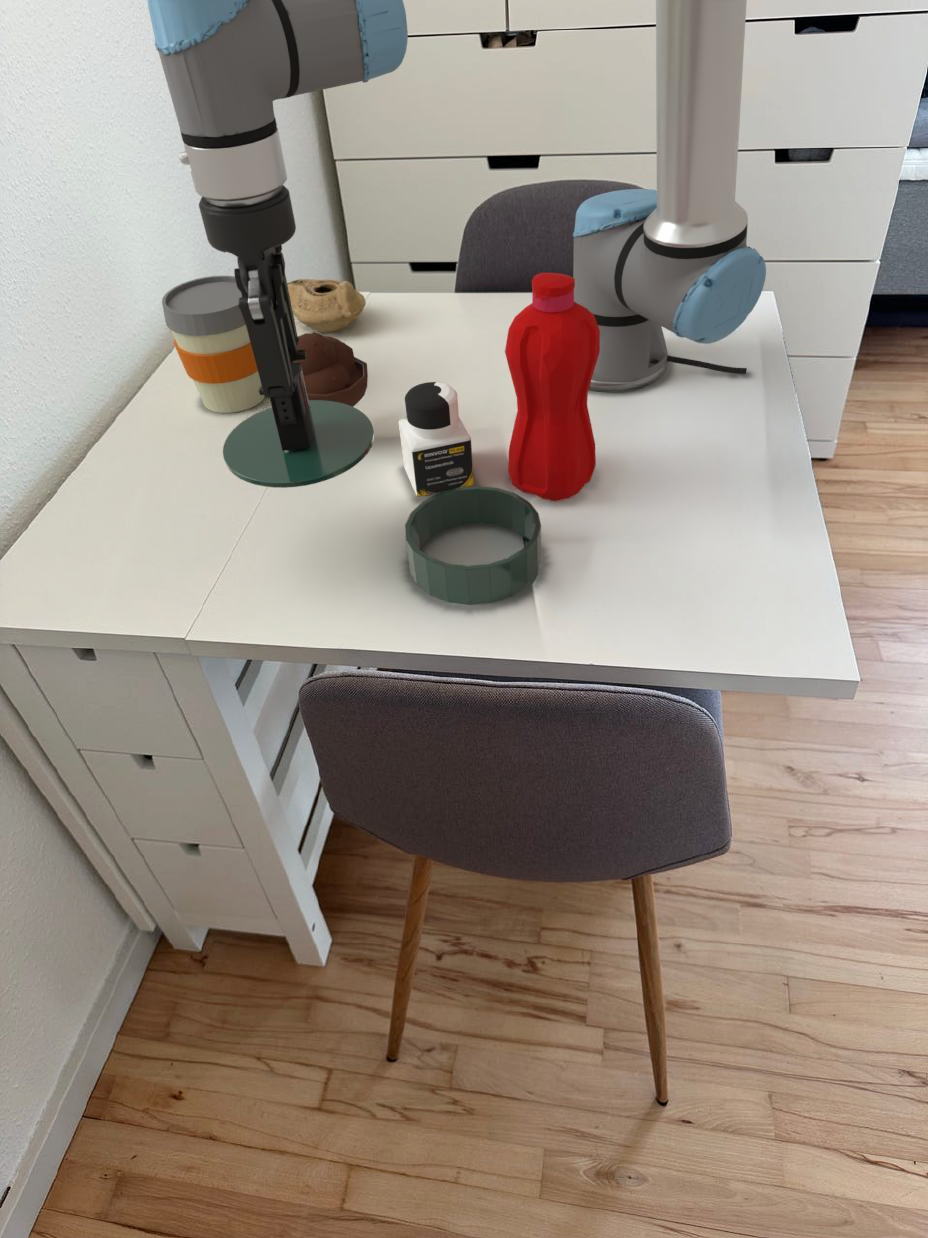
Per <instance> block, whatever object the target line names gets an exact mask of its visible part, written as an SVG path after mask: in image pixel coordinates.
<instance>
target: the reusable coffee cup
mask: <svg viewBox="0 0 928 1238" xmlns="http://www.w3.org/2000/svg"><path fill="white" fill-rule="evenodd" d="M241 297H242V294H241V291H240V290H239V289H238V288H237V284H236V280H235V275H212V276H210V275H209V276H204V277H199V278H195V279H191V280H188V281H185V282H182V283H180V284H178V285H176V286H174V287H172V288H170V289H169V290H168V291H167V292H165V294H164V295H163V297H162V300H161V303H162V311H163V315H164V316H163V317H164V320H165V321H164V322H165V324H166V327H167V328H168V329H169V330H170V331H171V333H172V336H173V337H174V340H173V346H174V347H175V350H176V352H177V355H178V356H179V359H180V361H181V363H182V365H183V368H184V370H185V372H186V374H187V376H188V377H189V378H190V379H192V381H193V383H194V386H195V387H196V391H197V392H198V395H199V397H200V399H201V401H202V404H203V405H204V407H205V408H206V409H208V410H209V411H210V412H215V413H220V414H233V413H238V412H243V411H246V410H249V409H251V408H254V407H255V406H257V405H259V404H260V403H261V402H262V401H264V399H266V398H265V397H264V395H260V393H259V389H260V386H262V385H261V381H260V377H259V373H258V369H257V366H256V362H255V358H254V354H253V350H252V346H251V342H250V339H249V335H248V331H247V327H246V324H245V321H244V318H243V316H242V313H241V310H240V309H239V306H238V302H239V298H241Z"/></svg>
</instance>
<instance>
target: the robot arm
mask: <svg viewBox="0 0 928 1238" xmlns="http://www.w3.org/2000/svg"><path fill="white" fill-rule="evenodd" d="M146 1H147V7H148V12H149V18H150V22H151V26H152V33H153V36H154V45H155V46H154V47H155V50H156V51H157V52H158V56H159V59H160V63H161V66H162V70H163V73H164V76H165V80H166V85H167V88H168V91H169V94H170V98H171V102H172V105H173V110H174V112H175V116H176V119H177V124H178V126H179V131H180V135H181V139H182V142H183V147H184V151H181V152H179V161H180V163H181V164H183V165H185V166H188V165H189V166H190V170H191V171H190V175H191V179H192V183H193V186H194V190H195V192H196V194H198V195H199V197H201V198H200V201H199V202H198V208H199V211H200V216H201V220H202V223H203V227H204V231H205V235H206V238H207V242H208V243H209V244H210V246H211V247H212V248H214V250H217V251H219V252H221V253H228V254H231V255H233V256H235V257H237V268H234V270H233V272H234V276H235V280H236V284H237V288H238V289H239V290H240V291H241V294H242V297H241V298H239V302H238V306H239V309H240V310H241V313H242V316H243V318H244V321H245V324H246V327H247V331H248V335H249V339H250V342H251V346H252V350H253V354H254V358H255V362H256V366H257V369H258V373H259V377H260V381H261V385H262V386H260V389H259V393H260V395H264V397H265V398H264V399H267V398H269V401H270V405H271V407H272V409H273V414H274V418H275V422H276V426H277V430H278V434H279V438H280V443H281V447H282V451H284V450H295V449H305V448H310V441H309V436H308V431H307V427H306V422H305V418H304V413H303V408H302V404H301V399H300V394H299V390H298V385H295V382H294V379H293V374H292V369H291V363H290V362H293V363H295V361H296V360H306V350H305V349H304V350H298V349H297V346H298V343H299V337H298V336H299V335H298V331H297V327H296V326H297V325H296V321H295V315H294V314H293V311H292V306H291V301H290V296H289V291H288V285H287V283H288V281H287V275H286V262H285V257H284V254H283V252H282V250H283V245H284V244H286V243H288V242H289V241H290V240H291V239H292V238H293V237H294V235H295V233H296V229H297V226H296V219H295V215H294V208H293V205H292V199H291V194H290V190H289V189H288V188H287V187H286V186H285V185H284V184H285V183H286V181H287V180H288V175H287V169H286V165H285V164H286V163H285V159H284V158H285V157H284V153H283V150H282V149H283V148H282V144H281V139H280V133H279V128H278V124H277V120H276V117H275V116H276V115H275V111H274V101H277V100H284V99H287V98H292V97H295V96H299V95H304V94H309V93H313V92H314V93H315V92H318V91H323V90H328V89H332V88H337V87H341V86H342V87H343V86H347V85H352V84H356V83H361V82H362V83H368V82H369V81H371V80H374V79H375V78H379V77H381V76H384V75H387V74H391V73H393V72H395V71H396V70H397V69H398V68H399V67H400V66H401V65H402V63H403V61H404V59H405V55H406V53H407V50H408V49H407V48H408V40H409V33H408V32H409V31H408V21H407V13H406V12H407V11H406V7H405V3H404V0H146ZM747 2H748V0H655V87H656V89H655V93H656V94H655V96H656V97H655V100H656V101H655V104H656V110H655V111H656V112H655V113H656V119H655V121H656V123H655V125H656V126H655V129H656V130H655V131H656V133H655V135H656V136H655V137H656V139H655V140H656V189H650V188H648V189H647V188H630V189H629V188H628V189H619V190H613V191H609V192H604V193H600V194H597V195H594V196H591V197H589V198H588V199H585V200H584V201H583V202H582V203H581V204H580V205H579V206H578V208H577V209H576V212H575V220H574V221H575V222H574V230H573V233H572V237H573V258H572V259H573V263H572V264H573V265H572V266H573V269H572V270H573V271H572V272H573V273H572V274H573V275H572V277H573V278H574V279H575V287H574V302H576V303H578V304H580V305H581V306H583V307H585V308H587V309H588V310H589V311H590V312H591V313H592V314H593V315H594V317H595V320H596V322H597V325H598V327H599V330H600V352H599V356H598V359H597V363H596V366H595V369H594V373H593V376H592V380H591V383H590V386H589V390H591V391H596V392H607V393H617V392H618V393H619V392H620V393H621V392H629V391H635V390H639V389H642V388H645V387H649V386H650V385H652V384H653V385H654V383H656V382H658V381H659V380H660V379H661V378H662V377H663V376H665V374H666V372H667V369H668V363H674V364H680V365H685V366H690V367H691V366H692V367H697V368H702V369H707V370H712V371H717V372H721V373H726V374H727V373H728V374H735V375H747V372H748V371H747V370H748V369H747V367H735V366H726V365H722V364H715V363H712V362H706V361H702V360H696V359H690V358H685V357H680V356H673V355H669V354H668V353H669V352H668V347H667V343H666V338H665V335H664V334H665V333H664V330H663V328H664V329H665V330H667V331H670V332H671V333H673V334H674V335H676V336H677V337H678V338H682V339H687V340H690V341H692V342H694V343H697V344H701V345H702V344H703V345H708V344H714V343H716V342H718V341H719V342H720V341H721V340H723V339H725V338H726V337H728V336H729V335H731V334H732V333H733V332H735V331H736V330H737V329H738V328H739V327H740V326H741V325H742V324H743V323H744V322H745V320H746V319H747V318H748V316H749V315H750V314H751V313H752V312H753V310H754V308H755V307H756V305H757V303H758V301H759V299H760V297H761V295H762V293H763V289H764V286H765V283H766V277H767V266H766V262H765V259H764V257H763V256H762V255H760V253H759V251H758V250H757V249H756V248H752V247H751V246H747V241H748V240H747V239H748V222H749V217H748V213H747V211H746V209H745V208H744V207H742V206H741V205H740V204H739V203H738V202H737V201H736V193H737V190H736V189H737V176H738V175H737V173H738V159H739V157H738V156H739V139H740V121H741V107H742V106H741V105H742V104H741V103H742V102H741V101H742V88H743V87H742V86H743V72H744V71H743V70H744V54H745V53H744V52H745V37H746V36H745V35H746V22H747V21H746V19H747V17H746V16H747ZM297 364H299V365H300V363H297ZM300 366H301V365H300Z"/></svg>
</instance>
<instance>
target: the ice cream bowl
mask: <svg viewBox="0 0 928 1238" xmlns="http://www.w3.org/2000/svg"><path fill="white" fill-rule="evenodd" d="M297 336H298V337H299V343H298V346H297V349H298V350H304V349H305V350H306V360H296V361H295V363H300V365H301V367H302V371H303V376H304V381H305V386H306V390H307V395H308V400H324V401H333V402H339V403H343V404H346V405H349V406H352V407H355V406H356V405H357V404H358V403H359V402H360V401H361V400H362V399H363V398H364V396H365V394H366V392H367V389H368V381H369V375H368V374H369V373H368V363H367V362H366V361H364V360H361V359H360V358H357V357H355V353H354V349H353V348H352V347H351V346H349V345H348V344H346V343H345V342H343V341H341V340H340V339H339V338H336V337H334V336H332V335H331V336H330V335H324V334H321V333H318V332H312V333H308V332H305V333H303V334H300V335H297Z"/></svg>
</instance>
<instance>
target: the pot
mask: <svg viewBox="0 0 928 1238" xmlns="http://www.w3.org/2000/svg"><path fill="white" fill-rule="evenodd" d="M475 524H481V525H482V524H483V525H492V526H499V527H501V528H504V529H507V530H511V531H513V532H514V533H516V534H517V535H519V536H520V537H522V541H523V542H522V543H523V547H522V548H521V549H520V550H518V551H517V552H515V553H513V554H511V555H509V556H508V557H506V558H502V559H500V560H496V561H494V562H490V563H485V564H475V565H463V564H453V563H447V562H444V561H441V560H438V559H436V558H433V557H430V556H429V555H428V554H426V553H425V552H423V551H422V550H421V548H422V547H423V546H424V545H425V544H426V543H427V542H428V541H429V540H430V539H431V538H432V537H434V536H436V535H438V534H440V533H442V532H443V531H446V530H449V529H452V528H456V527H459V526H465V525H475ZM404 533H405V534H404V535H405V544H406V551H407V560H408V561H407V562H408V567H409V568H408V569H409V573H410V576H411V577H412V579H413V580H414V581H413V582H415V584H416V586H417V587H419V588H420V589H421V590H423V591H424V592H425V593H427V594H428V595H430V597H433V598H435V599H439V600H440V601H441V600H442V601H443V602H447V603H451V604H459V605H469V606H473V605H484V604H493V603H495V602H498V601H502V600H504V599H508V598H511V597H513V596H515V595H516V594H518V593H519V592H521V591H523V590H524V589H526V588H527V587H528V586H529V585H530V584H531V585H533V584H534V583H535V581H536V579H537V577H538V576H539V574H540V570H541V565H542V523H541V519H540V513H539V512H538V511H537V510H536V508H535V507H534V506H533V504H531V502H530V501H529V500H527V499H525V498H524V497H522V496H521V495H519V494H517V493H515V492H514V491H513V492H512V491H509V490H506V489H502V488H500V487H495V486H494V487H493V486H482V485H471V486H466V487H460V488H455V489H451V490H447V491H443V492H438V493H435V494H433V495H432V496H430V497H428V498H426V499H425V500H423V501H422V502H420V503H419V505H417V506H416V507H415V508H414V509H413V510H412V511H411V512H410V513H409V516H408V518H407V521H406V522H405V525H404Z"/></svg>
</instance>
